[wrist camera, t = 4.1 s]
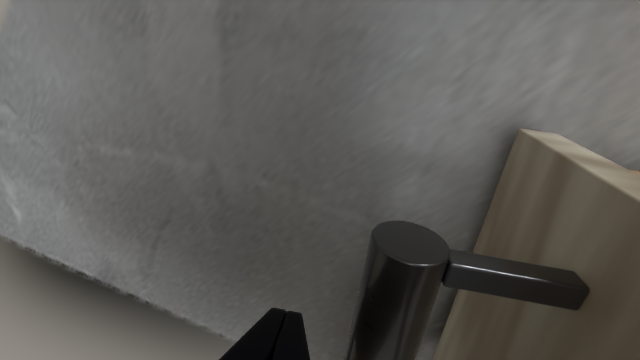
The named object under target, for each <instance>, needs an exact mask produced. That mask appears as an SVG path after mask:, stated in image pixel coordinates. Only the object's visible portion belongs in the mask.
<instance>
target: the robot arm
mask: <svg viewBox="0 0 640 360" xmlns="http://www.w3.org/2000/svg"><path fill="white" fill-rule="evenodd" d="M219 360H310V357H309V351H308V345H307V340H306V334H305V328H304V322H303V317H302V314H301V313H299V312H294V311H287V312H286V310H284V309H279V308H271V309H270V310H269V311H268V312H267V313H266V314H265V315H264V316H263V317H262V318H261V319H260V320H259V321H258V322H257V323H256V324H255V325H254V326H253V327H252V328H251V329H250V330H249V331H248V332H247V333H246V334H244V335H243V336H242V337H241V338H240V339H239V340H238V341H237V342H236V343H235V344H234V345H233V346H232V347H231V348H230V349H229V350H228V351H227V352H226V353H225V354H224V355H223V356H222V357H221V358H220V359H219Z"/></svg>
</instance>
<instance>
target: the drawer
mask: <svg viewBox="0 0 640 360" xmlns="http://www.w3.org/2000/svg"><path fill="white" fill-rule="evenodd" d="M441 281H442V283H443V285H444V286H446V287H451V288H456V289H459V290H458V293H457V295H456V298H455V301H454V303H453V306H452V309H451V311H450V314H449V317H448V319H447V322H446V325H445V327H444V330H443V333H442V335H441V338H440V341H439V343H438V346H437V349H436V351H435V354H434V357H433V360H640V172H639V171H633V170H628V169H626V168H624V167H622V166H620V165H618V164H616V163H614V162H612V161H610V160H608V159H606V158H604V157H602V156H600V155H598V154H596V153H594V152H592V151H590V150H588V149H586V148H584V147H582V146H580V145H578V144H576V143H574V142H572V141H571V140H569V139H567V138H565V137H563V136H561V135H559V134H555V133H548V132H541V131H535V130H528V129H519V130H518V132H517V135H516V138H515V140H514V143H513V146H512V148H511V151H510V154H509V156H508V159H507V162H506V164H505V167H504V170H503V172H502V175H501V178H500V180H499V183H498V186H497V188H496V191H495V194H494V196H493V199H492V202H491V204H490V207H489V210H488V212H487V215H486V218H485V220H484V223H483V226H482V228H481V231H480V234H479V236H478V239H477V242H476V244H475V247H474V250H473V252H472V253H469V252H463V251H458V250H452V249H449V247H448V245H447V243H446V242H445V241H444V240H443V239H442V238H441V237H440V236H439V235H438V234H436V233H435V232H433V231H431V230H430V229H428V228H425V227H423V226H421V225H418V224H415V223H411V222H406V221H386V222H382V223H380V224H378V225H377V226H376V227H375V228H374V229H373V230H372V233H371V238H370V242H369V247H368V251H367V256H366V261H365V265H364V270H363V275H362V279H361V284H360V289H359V293H358V298H357V302H356V307H355V312H354V316H353V321H352V326H351V330H350V335H349V340H348V344H347V349H346V353H345V358H344V360H414V359H415V357H416V354H417V351H418V348H419V345H420V342H421V339H422V336H423V333H424V330H425V327H426V324H427V321H428V319H429V316H430V313H431V310H432V307H433V304H434V301H435V298H436V295H437V292H438V289H439V286H440V283H441Z"/></svg>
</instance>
